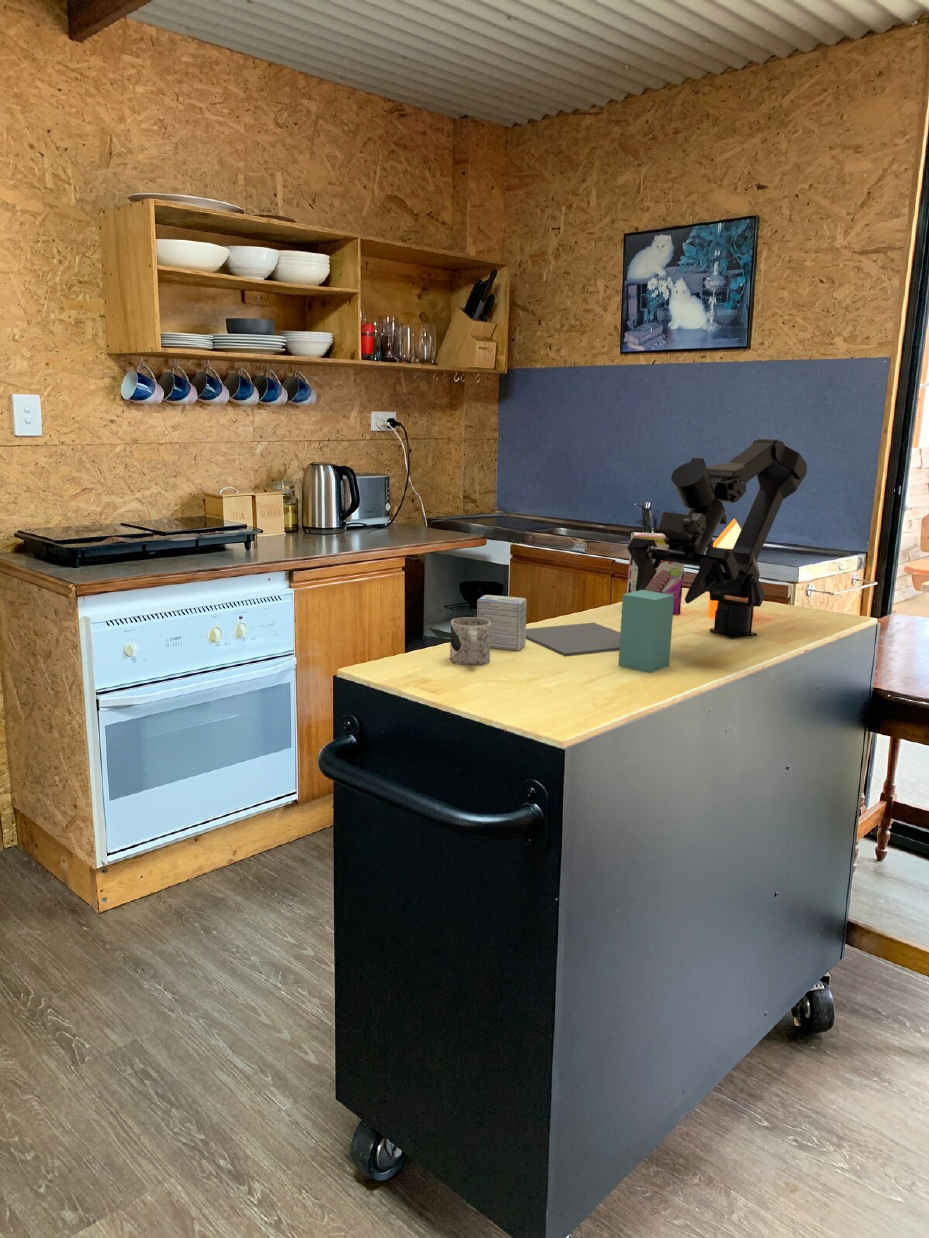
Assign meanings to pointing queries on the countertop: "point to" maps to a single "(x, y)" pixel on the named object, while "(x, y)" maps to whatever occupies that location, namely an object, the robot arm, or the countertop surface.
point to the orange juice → (727, 541)
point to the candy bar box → (659, 573)
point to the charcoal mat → (576, 638)
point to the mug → (470, 641)
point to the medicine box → (504, 620)
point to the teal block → (646, 630)
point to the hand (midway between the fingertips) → (661, 597)
